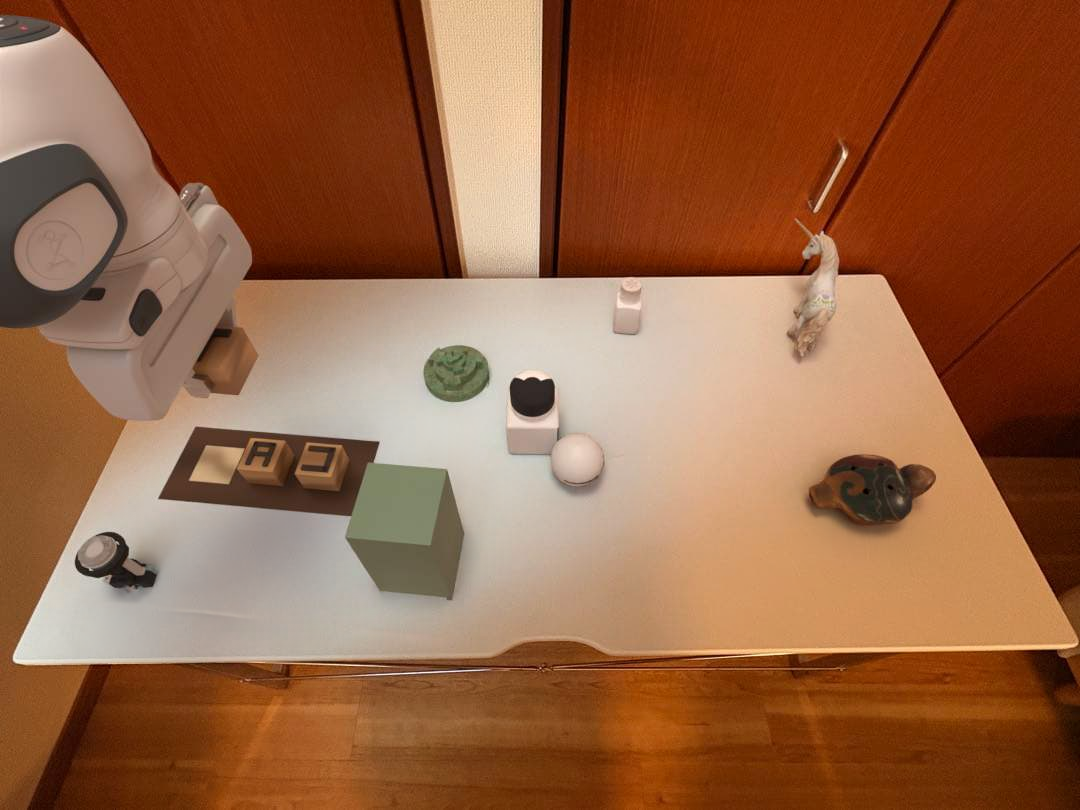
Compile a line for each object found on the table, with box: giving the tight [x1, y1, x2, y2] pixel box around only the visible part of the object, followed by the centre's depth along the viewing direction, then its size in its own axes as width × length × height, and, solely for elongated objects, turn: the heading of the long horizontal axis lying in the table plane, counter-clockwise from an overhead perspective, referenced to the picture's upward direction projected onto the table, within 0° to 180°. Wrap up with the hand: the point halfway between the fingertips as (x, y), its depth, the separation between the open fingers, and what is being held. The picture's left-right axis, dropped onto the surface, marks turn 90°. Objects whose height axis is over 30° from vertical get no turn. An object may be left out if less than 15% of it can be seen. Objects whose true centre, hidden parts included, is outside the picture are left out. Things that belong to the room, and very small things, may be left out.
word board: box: [157, 426, 381, 517], centre depth 87 cm, size 12×28×1 cm, turn 84°
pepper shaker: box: [612, 276, 643, 335], centre depth 99 cm, size 4×4×10 cm
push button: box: [74, 531, 159, 591], centre depth 74 cm, size 7×5×10 cm
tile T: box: [192, 326, 259, 396], centre depth 57 cm, size 5×5×4 cm
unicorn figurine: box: [786, 218, 840, 358], centre depth 98 cm, size 7×20×13 cm, turn 178°
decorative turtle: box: [808, 453, 937, 526], centre depth 80 cm, size 10×15×8 cm, turn 100°
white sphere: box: [549, 432, 623, 487], centre depth 84 cm, size 10×7×7 cm
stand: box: [344, 462, 465, 601], centre depth 72 cm, size 9×9×17 cm
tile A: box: [237, 438, 295, 486], centre depth 85 cm, size 5×5×4 cm
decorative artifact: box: [423, 344, 491, 403], centre depth 94 cm, size 10×7×10 cm
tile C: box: [295, 443, 349, 491], centre depth 84 cm, size 5×5×4 cm
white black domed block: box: [505, 369, 560, 455], centre depth 86 cm, size 7×7×12 cm
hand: (218, 365), depth 58 cm, fingers closed on tile T, 5 cm apart
